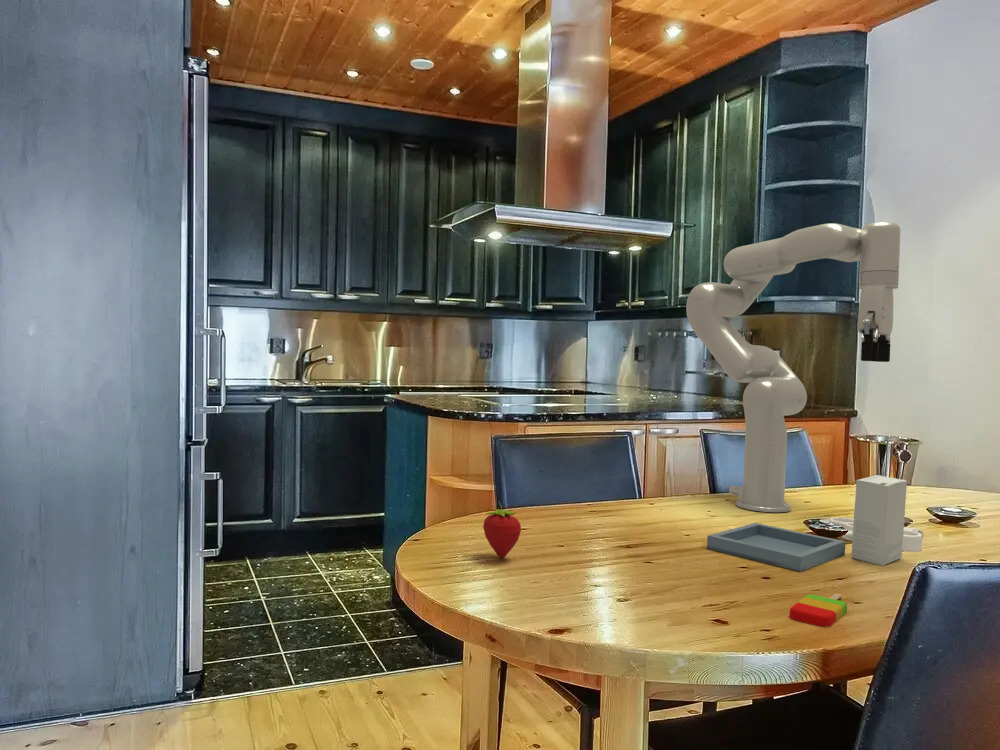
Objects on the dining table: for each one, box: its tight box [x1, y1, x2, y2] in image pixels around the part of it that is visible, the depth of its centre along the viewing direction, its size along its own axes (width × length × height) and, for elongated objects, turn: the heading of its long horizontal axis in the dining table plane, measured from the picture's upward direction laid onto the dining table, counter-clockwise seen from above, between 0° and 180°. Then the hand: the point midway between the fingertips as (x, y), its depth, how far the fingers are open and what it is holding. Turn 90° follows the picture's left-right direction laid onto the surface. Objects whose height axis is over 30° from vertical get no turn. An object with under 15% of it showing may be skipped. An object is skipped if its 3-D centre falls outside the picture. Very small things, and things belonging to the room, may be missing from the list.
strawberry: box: [482, 500, 522, 559], centre depth 129 cm, size 6×8×10 cm
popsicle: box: [789, 593, 848, 627], centre depth 108 cm, size 6×15×2 cm, turn 140°
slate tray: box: [706, 522, 846, 572], centre depth 140 cm, size 18×18×2 cm
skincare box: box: [851, 474, 908, 566], centre depth 137 cm, size 8×6×15 cm
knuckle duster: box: [828, 516, 924, 553], centre depth 152 cm, size 3×18×15 cm
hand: (875, 361), depth 160 cm, fingers open, 9 cm apart
